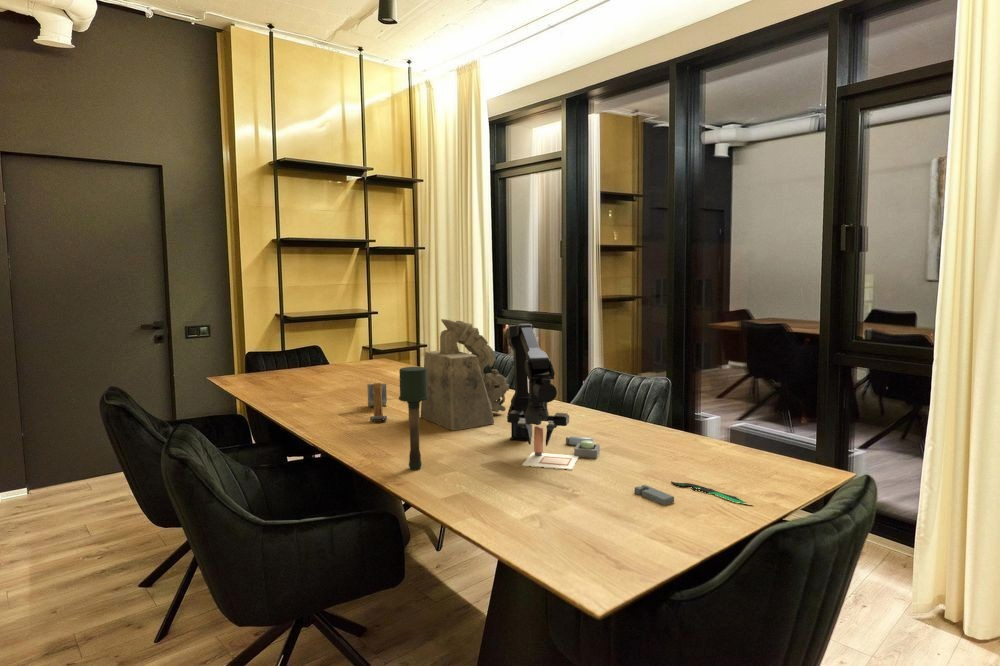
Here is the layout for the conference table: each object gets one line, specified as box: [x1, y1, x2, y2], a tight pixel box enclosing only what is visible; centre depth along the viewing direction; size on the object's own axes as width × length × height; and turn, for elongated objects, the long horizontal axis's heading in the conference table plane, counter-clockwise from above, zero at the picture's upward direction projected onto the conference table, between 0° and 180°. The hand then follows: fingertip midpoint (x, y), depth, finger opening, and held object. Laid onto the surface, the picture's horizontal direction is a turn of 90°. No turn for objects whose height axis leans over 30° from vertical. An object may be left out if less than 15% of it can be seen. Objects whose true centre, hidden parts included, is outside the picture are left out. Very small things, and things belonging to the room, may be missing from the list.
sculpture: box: [420, 318, 510, 431], centre depth 241 cm, size 27×33×40 cm
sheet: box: [521, 451, 580, 471], centre depth 187 cm, size 15×13×1 cm
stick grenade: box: [398, 366, 428, 471], centre depth 180 cm, size 8×9×30 cm
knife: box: [670, 480, 747, 503], centre depth 159 cm, size 23×1×5 cm
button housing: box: [573, 443, 601, 459], centre depth 194 cm, size 7×7×2 cm
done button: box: [581, 440, 595, 449], centre depth 193 cm, size 4×4×2 cm
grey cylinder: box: [565, 436, 595, 446], centre depth 204 cm, size 9×3×3 cm
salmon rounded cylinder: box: [533, 425, 544, 456], centre depth 192 cm, size 3×3×9 cm
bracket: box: [634, 484, 675, 506], centre depth 157 cm, size 4×10×2 cm, turn 31°
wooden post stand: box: [367, 382, 388, 422], centre depth 252 cm, size 8×17×30 cm
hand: (538, 444), depth 192 cm, fingers open, 5 cm apart
